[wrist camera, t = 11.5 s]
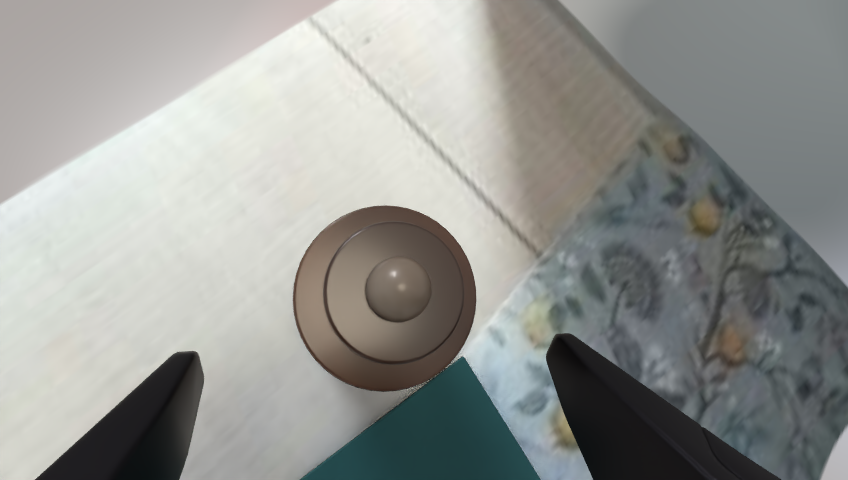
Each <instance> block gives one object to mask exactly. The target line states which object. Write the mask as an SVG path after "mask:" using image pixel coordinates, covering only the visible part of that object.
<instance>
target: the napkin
mask: <svg viewBox="0 0 848 480" xmlns="http://www.w3.org/2000/svg"><path fill="white" fill-rule="evenodd" d="M300 480H540V478H539V476H538V475H537V473H536V472H535V470H534V468H533V467H532V465H531V464H530V462H529V460H528V459H527V457H526V456H525V454H524V452H523V451H522V449H521V448H520V446H519V444H518V443H517V441H516V440H515V438H514V436H513V435H512V433H511V431H510V430H509V428H508V427H507V425H506V423H505V422H504V420H503V419H502V417H501V415H500V414H499V412H498V411H497V409H496V407H495V406H494V404H493V403H492V401H491V399H490V398H489V396H488V395H487V393H486V391H485V390H484V388H483V387H482V385H481V383H480V382H479V380H478V379H477V377H476V375H475V374H474V372H473V371H472V369H471V367H470V366H469V364H468V363H467V361H466V359H465V358H464V357H461V358H460V359H458V360H457V361H456V362H455V363H453V364H452V365H451V366H449V367H448V368H447V369H445V370H444V371H443V372H441V373H440V374H439V375H437V376H436V377H435V378H433V379H432V380H431V381H429V382H428V383H427V384H425V385H424V386H423V387H421V388H420V389H419V390H418V391H416V392H415V393H414V394H412V395H411V396H410V397H408V398H407V399H406V400H404V401H403V402H402V403H400V404H399V405H398V406H396V407H395V408H394V409H392V410H391V411H390V412H388V413H387V414H386V415H385V416H383V417H382V418H381V419H379V420H378V421H377V422H375V423H374V424H373V425H371V426H370V427H369V428H367V429H366V430H365V431H363V432H362V433H361V434H359V435H358V436H357V437H355V438H354V439H353V440H351V441H350V442H349V443H348V444H346V445H345V446H344V447H342V448H341V449H340V450H338V451H337V452H336V453H334V454H333V455H332V456H330V457H329V458H328V459H326V460H325V461H324V462H322V463H321V464H320V465H318V466H317V467H316V468H315V469H313V470H312V471H311V472H309V473H308V474H307V475H305V476H304V477H303V478H301V479H300Z"/></svg>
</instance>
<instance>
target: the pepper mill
mask: <svg viewBox="0 0 848 480" xmlns="http://www.w3.org/2000/svg"><path fill="white" fill-rule="evenodd" d="M293 309H294V316H295V320H296V325H297V328H298V331H299V333H300V336H301V338H302V340H303V342H304V344H305V346H306V348H307V349H308V351H309V352H310V353H311V355H312V356H313V358H314V359H315V360H316V361H317V362H318V363H319V364H320V365H321V366H322V367H323V368H324V369H325V370H326V371H328V372H329V373H330V374H331V375H333V376H334V377H336V378H338V379H339V380H341V381H343V382H345V383H347V384H350V385H352V386H355V387H357V388H361V389H366V390H370V391H382V392H384V391H397V390H402V389H407V388H410V387H413V386H416V385H419V384H421V383H423V382H425V381H427V380H429V379H431V378H432V377H434V376H435V375H437V374H438V373H440V372H441V371H442V370H443V369H444V368H445V367H447V366H448V365H449V364H450V363H451V362H452V360H453V359H454V358H455V357H456V356H457V354H458V353H459V351H460V350H461V348H462V347H463V345H464V344H465V341H466V339H467V337H468V335H469V333H470V330H471V327H472V324H473V320H474V315H475V309H476V287H475V281H474V276H473V272H472V269H471V266H470V263H469V261H468V259H467V256H466V255H465V253H464V251H463V249H462V248H461V246H460V245H459V243H458V242H457V241H456V239H455V238H454V237H453V236H452V235H451V234H450V233H449V232H448V231H447V230H446V229H445V228H444V227H443V226H441V225H440V224H439V223H438V222H436V221H434V220H433V219H431V218H430V217H428V216H426V215H424V214H422V213H420V212H417V211H414V210H411V209H408V208H403V207H398V206H373V207H367V208H362V209H359V210H356V211H353V212H350V213H348V214H346V215H344V216H342V217H340V218H339V219H337V220H335V221H334V222H332V223H331V224H330V225H328V226H327V227H326V228H325V229H324V230H323V231H321V232H320V234H319V235H318V236H317V237H316V238H315V239H314V240H313V242H312V243H311V244H310V246H309V247H308V249H307V250H306V252H305V254H304V256H303V258H302V260H301V262H300V265H299V268H298V270H297V273H296V278H295V282H294V289H293Z"/></svg>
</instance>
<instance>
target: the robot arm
mask: <svg viewBox="0 0 848 480" xmlns="http://www.w3.org/2000/svg"><path fill="white" fill-rule="evenodd" d="M546 361H547V365H548V368H549V371H550V374H551V376H552V379H553V382H554V385H555V388H556V391H557V394H558V397H559V400H560V403H561V406H562V409H563V412H564V414H565V417H566V419H567V421H568V424H569V426H570V428H571V431H572V433H573V435H574V437H575V439H576V442H577V444H578V446H579V448H580V451H581V453H582V455H583V457H584V460H585V462H586V464H587V466H588V469H589V471H590V473H591V475H592V478H593V480H781V479H780V478H778V477H777V476H775V475H773V474H772V473H770V472H769V471H767V470H766V469H764V468H763V467H761V466H759V465H758V464H756V463H755V462H753V461H752V460H750V459H749V458H747V457H746V456H744V455H743V454H741V453H740V452H738V451H737V450H735V449H734V448H732V447H731V446H730V445H728V444H727V443H725V442H724V441H722V440H721V439H719V438H718V437H717V436H715V435H714V434H712V433H711V432H709V431H708V430H707V429H705V428H704V427H701V426H700V425H699V424H698V423H697V422H695V421H694V420H692V419H691V418H690V417H688V416H687V415H685V414H684V413H682V412H681V411H680V410H678V409H677V408H675V407H674V406H673V405H671V404H670V403H668V402H667V401H666V400H664V399H663V398H661V397H660V396H658V395H657V394H656V393H654V392H653V391H651V390H650V389H649V388H647V387H646V386H644V385H643V384H641V383H640V382H639V381H637V380H636V379H634V378H633V377H632V376H630V375H629V374H627V373H626V372H625V371H623V370H622V369H620V368H619V367H617V366H616V365H615V364H613V363H612V362H610V361H609V360H608V359H606V358H605V357H603V356H602V355H600V354H599V353H598V352H596V351H595V350H593V349H592V348H591V347H589V346H588V345H586V344H585V343H583V342H582V341H581V340H579V339H578V338H576V337H575V336H574V335H572V334H569V333H564V334H556V335H555V336H554V338H553V340H552V342H551V345H550V347H549V349H548V351H547V354H546ZM203 384H204V374H203V370H202V366H201V362H200V358H199V355H198V353H197V352H195V351H186V352H177V353H175V354H173V355H172V356H171V357H170V358H168V359H167V360H166V361H165V362H164V363H163V364H162V365H161V366H160V367H159V368H157V369H156V370H155V371H154V372H153V373H152V374H151V375H150V376H149V377H148V378H146V379H145V380H144V381H143V382H142V383H141V384H140V385H139V386H138V387H137V388H135V389H134V390H133V391H132V392H131V393H130V394H129V395H128V396H127V397H126V398H124V399H123V400H122V401H121V402H120V403H119V404H118V405H117V406H116V407H115V408H113V409H112V410H111V411H110V412H109V413H108V414H107V415H106V416H105V417H104V418H102V419H101V420H100V421H99V422H98V423H97V424H96V425H95V426H94V427H93V428H91V429H90V430H89V431H88V432H87V433H86V434H85V435H84V436H83V437H82V438H80V439H79V440H78V441H77V442H76V443H75V444H74V445H73V446H72V447H70V448H69V449H68V450H67V451H66V452H65V453H64V454H63V455H62V456H61V457H59V458H58V459H57V460H56V461H55V462H54V463H53V464H52V465H51V466H50V467H48V468H47V469H46V470H45V471H44V472H43V473H42V474H41V475H40V476H39V477H37V478H36V479H35V480H179V479H180V476H181V473H182V470H183V467H184V464H185V461H186V458H187V455H188V450H189V446H190V442H191V438H192V433H193V429H194V425H195V420H196V416H197V411H198V407H199V402H200V398H201V394H202V389H203Z"/></svg>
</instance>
